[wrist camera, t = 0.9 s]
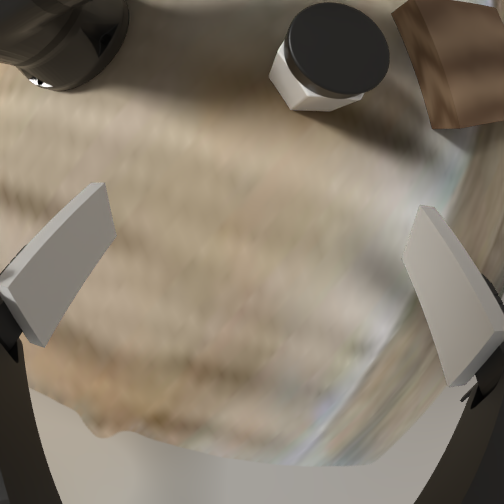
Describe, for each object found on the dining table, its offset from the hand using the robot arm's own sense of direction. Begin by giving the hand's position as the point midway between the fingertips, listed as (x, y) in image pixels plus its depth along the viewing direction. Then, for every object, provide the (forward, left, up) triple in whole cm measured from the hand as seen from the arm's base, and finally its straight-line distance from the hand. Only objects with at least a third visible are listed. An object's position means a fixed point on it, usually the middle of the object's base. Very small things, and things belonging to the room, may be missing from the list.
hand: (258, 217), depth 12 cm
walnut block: (-7, +32, -22) cm, 39 cm away
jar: (-8, +10, -22) cm, 26 cm away
